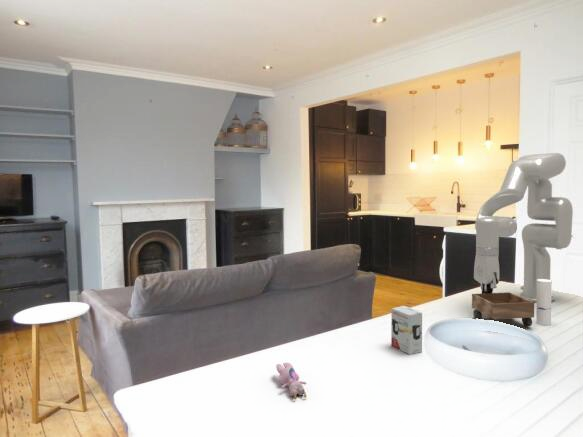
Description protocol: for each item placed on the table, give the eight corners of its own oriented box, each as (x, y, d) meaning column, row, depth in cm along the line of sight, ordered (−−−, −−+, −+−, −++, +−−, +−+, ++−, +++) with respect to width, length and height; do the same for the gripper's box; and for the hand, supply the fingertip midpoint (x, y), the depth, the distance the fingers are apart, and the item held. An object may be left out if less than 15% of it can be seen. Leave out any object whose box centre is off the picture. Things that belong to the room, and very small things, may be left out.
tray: (471, 317, 152) (472, 293, 151) (509, 315, 153) (509, 292, 152) (493, 330, 138) (493, 304, 137) (534, 328, 139) (534, 302, 138)
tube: (546, 321, 146) (547, 279, 145) (553, 325, 142) (554, 281, 141) (534, 321, 147) (534, 279, 146) (540, 325, 143) (540, 281, 142)
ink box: (390, 345, 128) (390, 307, 127) (403, 342, 130) (403, 305, 129) (409, 355, 120) (409, 314, 119) (422, 352, 122) (422, 312, 121)
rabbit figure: (312, 403, 97) (292, 367, 111) (314, 380, 96) (292, 347, 109) (287, 408, 95) (269, 371, 109) (287, 385, 94) (269, 350, 107)
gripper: (467, 249, 160) (467, 296, 162) (488, 255, 145) (487, 307, 147) (486, 248, 161) (486, 295, 162) (509, 254, 146) (508, 306, 147)
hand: (486, 301), depth 154 cm, fingers closed
